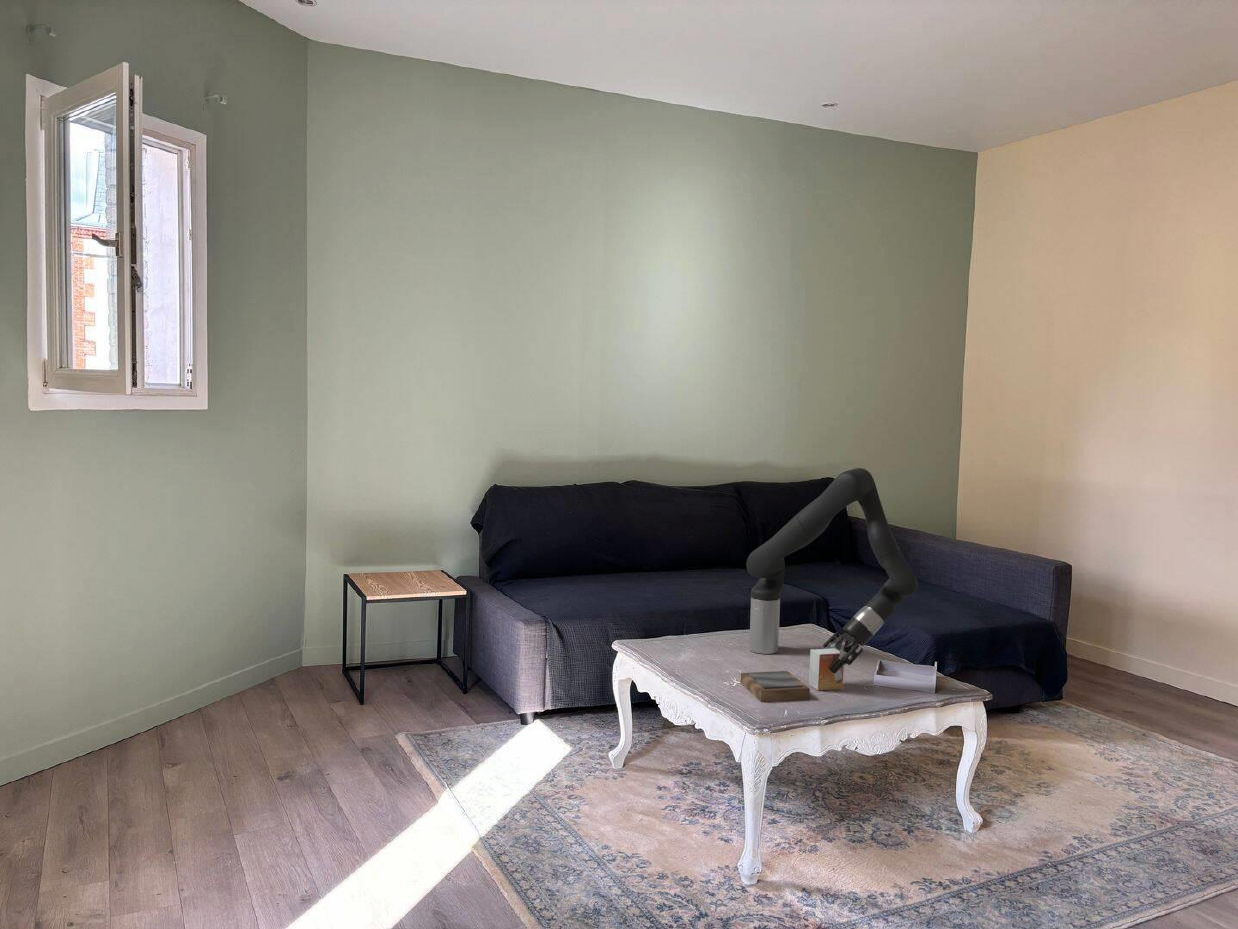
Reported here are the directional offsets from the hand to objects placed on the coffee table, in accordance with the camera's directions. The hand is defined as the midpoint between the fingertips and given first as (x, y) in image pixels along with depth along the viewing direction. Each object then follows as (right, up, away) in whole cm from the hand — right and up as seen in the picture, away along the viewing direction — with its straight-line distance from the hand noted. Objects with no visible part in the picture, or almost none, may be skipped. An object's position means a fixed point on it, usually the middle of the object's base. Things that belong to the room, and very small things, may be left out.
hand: (824, 666), depth 267 cm
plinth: (-15, -6, -4) cm, 17 cm away
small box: (0, -6, +1) cm, 6 cm away
